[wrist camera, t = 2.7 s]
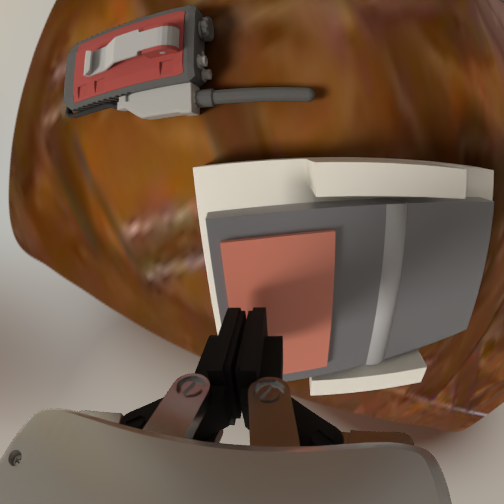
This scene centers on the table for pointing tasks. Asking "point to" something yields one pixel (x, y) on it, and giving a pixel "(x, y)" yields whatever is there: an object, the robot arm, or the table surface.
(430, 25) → the table surface
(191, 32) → the walkie-talkie
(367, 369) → the switch housing
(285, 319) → the rocker
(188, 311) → the table surface
